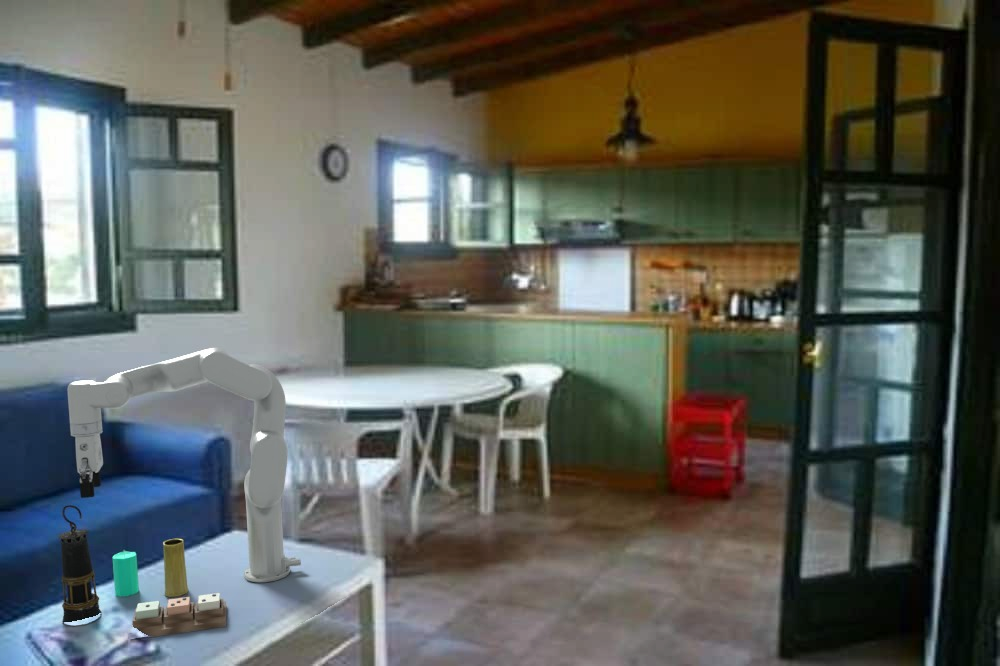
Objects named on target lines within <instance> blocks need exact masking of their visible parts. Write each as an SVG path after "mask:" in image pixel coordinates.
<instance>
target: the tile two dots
mask: <svg viewBox="0 0 1000 666" xmlns="http://www.w3.org/2000/svg"><path fill="white" fill-rule="evenodd" d="M220 599H221V595H220V592H217V593H215V592H214V593H207V594H200V595H198V601H197V602H198V610H199V611H205V610H212V609H219V608H220Z"/></svg>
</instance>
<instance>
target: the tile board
mask: <svg viewBox="0 0 1000 666" xmlns="http://www.w3.org/2000/svg"><path fill="white" fill-rule="evenodd" d="M167 606H168V605H166V606H165V609H164V605H161V606H160V612H159V617H152V618H145V619H138V620H136V609H135V610H134V614H133V617H132V621H131V622H132V623H131V626H132V625H133V627H134V628H137V629H138V630H139V631H141V632H142V633H144V634H146V635H148V636H153V637H154V636H155V637H161V636H162V637H163V636H169V635H175V634H182V633H189V632H196V631H203V630H211V629H217V628H226V626H227V601H224V598H223V597H222V598H220V608H219V609H212V610H205V611H199V610H198V601H196V602H195V603H194V601H193V602H192V601H191V602H190V613H182V614H175V615H168V612H167ZM153 637H152V638H153Z"/></svg>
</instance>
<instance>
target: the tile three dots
mask: <svg viewBox="0 0 1000 666" xmlns="http://www.w3.org/2000/svg"><path fill="white" fill-rule="evenodd" d="M190 603H191V598H190V596H187V597H186V596H185V597H184V596H183V597H178V598H177V597H175V598H169V599H168V602H167V605H166V606H167V612H168V615H175V614H182V613H190Z"/></svg>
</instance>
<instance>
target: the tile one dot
mask: <svg viewBox="0 0 1000 666" xmlns="http://www.w3.org/2000/svg"><path fill="white" fill-rule="evenodd" d="M160 607H161V606H160V600H154V601H146V602H140V603H139V602H138V603H137V606H136V608H135V610H136V620H138V619H145V618H152V617H159V612H160Z"/></svg>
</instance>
